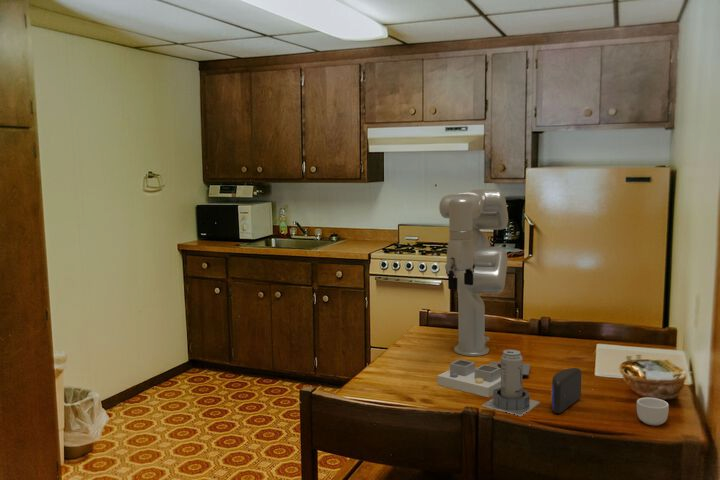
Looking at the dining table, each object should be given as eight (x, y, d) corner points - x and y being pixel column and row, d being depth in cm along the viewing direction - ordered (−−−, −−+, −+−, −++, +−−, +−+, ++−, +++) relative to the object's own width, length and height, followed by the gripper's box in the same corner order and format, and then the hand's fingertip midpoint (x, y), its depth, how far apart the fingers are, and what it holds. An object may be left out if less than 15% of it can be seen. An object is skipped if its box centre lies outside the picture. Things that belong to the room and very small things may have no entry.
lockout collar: (502, 394, 191) (502, 383, 190) (540, 403, 183) (540, 391, 182) (482, 406, 182) (482, 394, 181) (520, 416, 174) (520, 404, 173)
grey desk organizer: (458, 374, 209) (458, 357, 208) (507, 386, 197) (507, 367, 196) (437, 384, 200) (437, 366, 199) (488, 397, 188) (488, 378, 188)
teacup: (658, 430, 163) (658, 410, 162) (630, 421, 169) (630, 401, 169) (678, 420, 169) (678, 401, 168) (650, 412, 175) (651, 393, 175)
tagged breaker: (485, 373, 199) (485, 366, 199) (496, 376, 197) (496, 368, 196) (478, 377, 196) (478, 369, 196) (490, 379, 194) (490, 371, 193)
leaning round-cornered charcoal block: (566, 395, 189) (567, 364, 188) (582, 398, 186) (582, 367, 185) (543, 412, 177) (544, 379, 176) (559, 416, 174) (560, 382, 173)
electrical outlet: (529, 370, 213) (529, 363, 213) (528, 380, 203) (528, 373, 203) (490, 367, 217) (490, 360, 217) (486, 377, 207) (486, 370, 207)
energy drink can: (520, 407, 179) (521, 356, 177) (499, 405, 181) (499, 354, 179) (523, 400, 184) (523, 350, 182) (502, 397, 186) (502, 348, 185)
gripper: (464, 232, 217) (465, 281, 220) (436, 237, 205) (436, 290, 207) (484, 233, 213) (484, 284, 215) (456, 239, 200) (456, 292, 202)
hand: (460, 287), depth 211 cm, fingers open, 9 cm apart
